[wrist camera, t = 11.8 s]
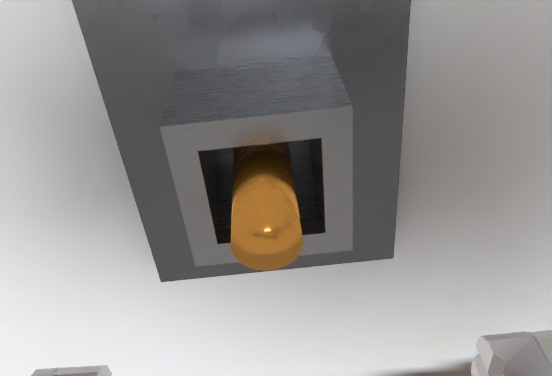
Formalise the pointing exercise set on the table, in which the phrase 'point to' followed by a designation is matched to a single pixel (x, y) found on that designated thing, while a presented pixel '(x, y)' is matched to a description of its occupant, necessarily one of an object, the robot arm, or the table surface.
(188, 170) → the hollow square tube
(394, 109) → the base
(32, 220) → the table surface
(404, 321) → the table surface
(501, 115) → the table surface
